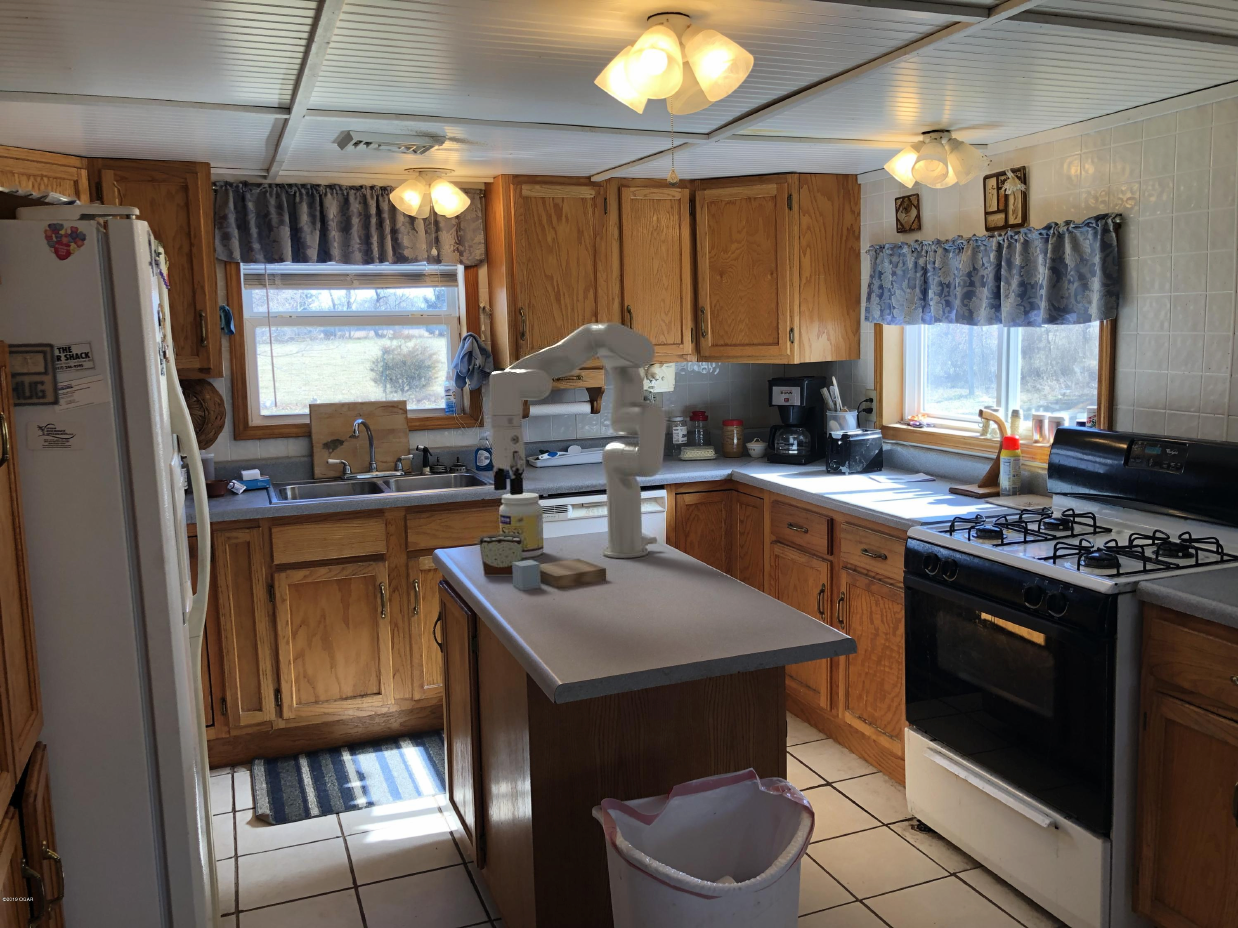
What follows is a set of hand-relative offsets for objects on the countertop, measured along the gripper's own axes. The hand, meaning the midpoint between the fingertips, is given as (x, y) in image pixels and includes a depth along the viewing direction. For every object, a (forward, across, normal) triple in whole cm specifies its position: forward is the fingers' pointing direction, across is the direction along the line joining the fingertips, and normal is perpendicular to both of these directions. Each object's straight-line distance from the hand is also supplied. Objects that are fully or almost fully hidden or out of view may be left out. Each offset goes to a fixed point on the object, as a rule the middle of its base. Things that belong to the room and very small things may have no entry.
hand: (508, 492), depth 242 cm
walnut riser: (+23, -3, -14) cm, 27 cm away
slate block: (+23, -4, -2) cm, 24 cm away
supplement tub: (+23, +32, -17) cm, 43 cm away
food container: (+23, +13, -4) cm, 27 cm away
